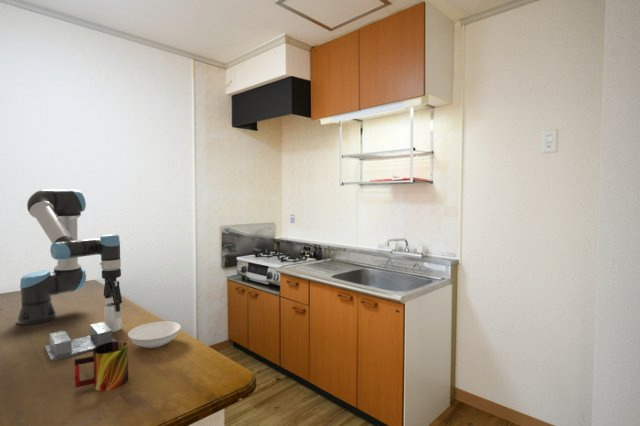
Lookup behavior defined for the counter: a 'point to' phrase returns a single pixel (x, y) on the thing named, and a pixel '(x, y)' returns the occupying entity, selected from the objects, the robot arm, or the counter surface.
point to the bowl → (154, 334)
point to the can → (111, 318)
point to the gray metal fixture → (78, 342)
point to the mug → (106, 366)
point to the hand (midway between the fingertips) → (113, 315)
